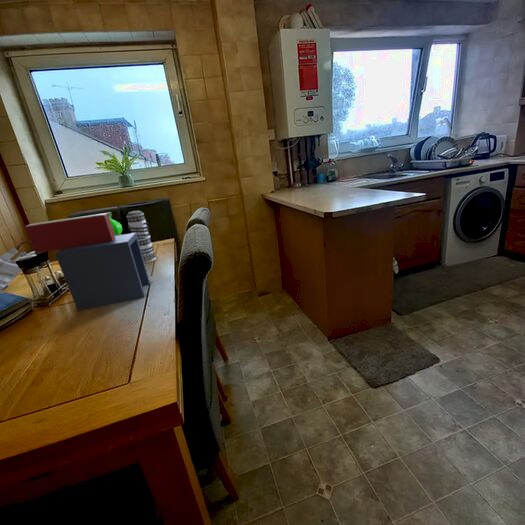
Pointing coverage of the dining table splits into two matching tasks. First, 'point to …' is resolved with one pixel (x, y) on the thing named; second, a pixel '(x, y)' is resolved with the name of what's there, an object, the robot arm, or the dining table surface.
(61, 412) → the dining table surface
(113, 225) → the plastic bottle
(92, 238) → the book
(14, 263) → the robot arm
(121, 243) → the shelf
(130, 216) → the leaning tower model
